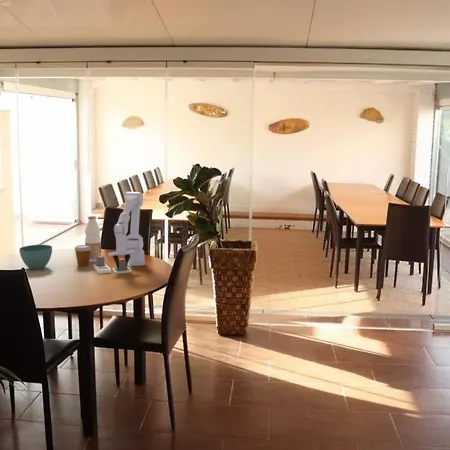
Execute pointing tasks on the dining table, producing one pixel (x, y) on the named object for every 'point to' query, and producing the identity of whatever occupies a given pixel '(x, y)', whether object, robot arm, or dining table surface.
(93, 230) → the fruit juice
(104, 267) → the strip
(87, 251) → the disposable coffee cup
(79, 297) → the dining table surface
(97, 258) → the twin plug
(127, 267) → the tray
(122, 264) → the plug
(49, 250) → the teal bowl
